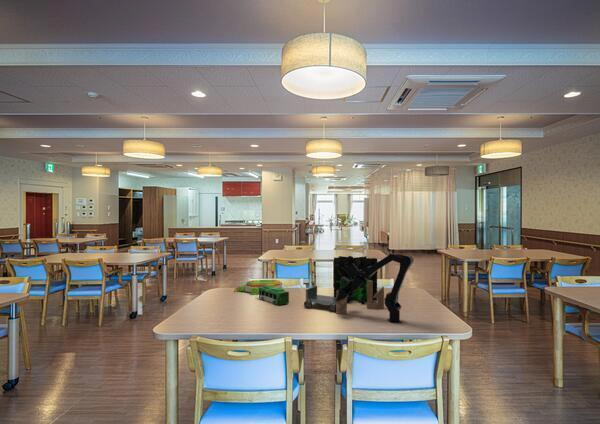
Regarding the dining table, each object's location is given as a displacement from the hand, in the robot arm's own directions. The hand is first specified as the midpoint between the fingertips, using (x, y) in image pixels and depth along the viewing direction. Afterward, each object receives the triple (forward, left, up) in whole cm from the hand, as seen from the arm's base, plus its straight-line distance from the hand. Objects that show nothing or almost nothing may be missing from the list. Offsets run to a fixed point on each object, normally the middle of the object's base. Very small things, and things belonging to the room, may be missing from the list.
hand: (339, 299), depth 223 cm
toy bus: (+36, +37, -9) cm, 53 cm away
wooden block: (+7, -26, -9) cm, 29 cm away
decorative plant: (+33, -21, -9) cm, 40 cm away
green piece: (+73, +43, -9) cm, 85 cm away
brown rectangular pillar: (-1, -1, -9) cm, 9 cm away
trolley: (+14, +5, -9) cm, 17 cm away
